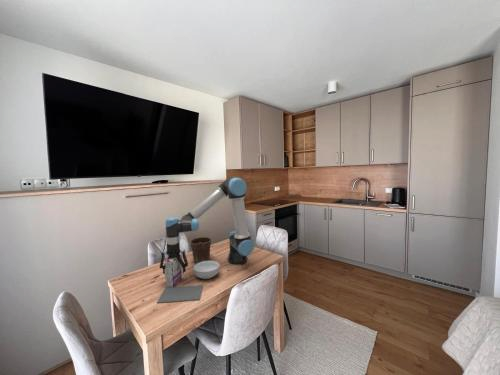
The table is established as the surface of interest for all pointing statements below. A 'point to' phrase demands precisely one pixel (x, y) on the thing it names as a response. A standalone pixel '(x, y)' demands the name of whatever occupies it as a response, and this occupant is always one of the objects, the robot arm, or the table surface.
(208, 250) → the plant pot
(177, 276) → the candy bar box
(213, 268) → the cereal bowl
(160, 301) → the mat
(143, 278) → the table surface
